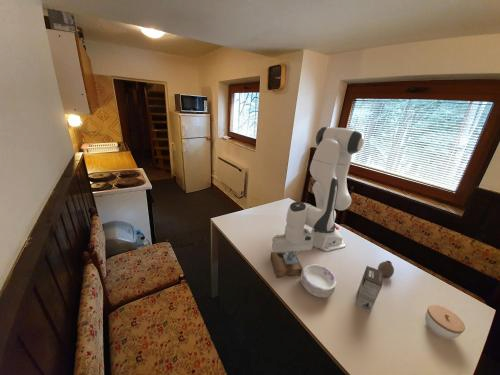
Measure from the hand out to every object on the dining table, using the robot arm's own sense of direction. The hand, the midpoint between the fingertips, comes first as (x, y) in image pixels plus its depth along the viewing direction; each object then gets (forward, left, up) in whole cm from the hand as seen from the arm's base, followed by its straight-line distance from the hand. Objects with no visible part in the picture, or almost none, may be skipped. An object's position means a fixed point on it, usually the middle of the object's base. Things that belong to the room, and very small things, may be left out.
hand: (290, 256), depth 103 cm
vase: (-50, +8, -9) cm, 51 cm away
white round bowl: (-10, +12, -9) cm, 18 cm away
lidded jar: (-51, +36, -9) cm, 63 cm away
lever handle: (+3, -9, -3) cm, 10 cm away
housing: (+1, -2, -9) cm, 9 cm away
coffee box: (-29, +21, -9) cm, 37 cm away
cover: (0, 0, -2) cm, 2 cm away
